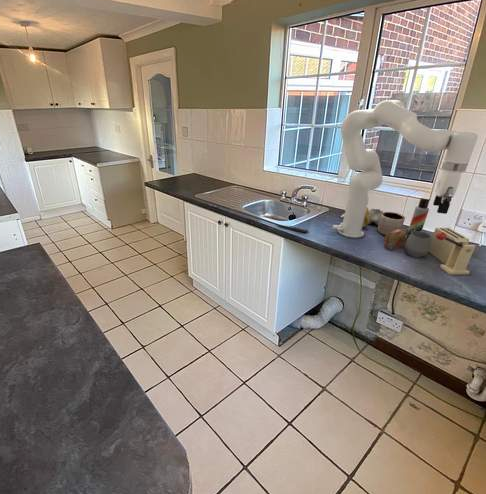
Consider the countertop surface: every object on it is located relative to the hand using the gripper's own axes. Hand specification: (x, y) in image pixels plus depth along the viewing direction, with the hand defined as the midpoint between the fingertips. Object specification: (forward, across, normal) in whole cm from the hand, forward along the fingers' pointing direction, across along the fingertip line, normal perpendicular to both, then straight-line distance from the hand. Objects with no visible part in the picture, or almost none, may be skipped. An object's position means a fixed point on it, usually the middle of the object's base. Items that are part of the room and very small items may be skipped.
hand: (439, 209), depth 124 cm
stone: (+17, -34, -27) cm, 47 cm away
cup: (+24, -5, -2) cm, 25 cm away
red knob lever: (+12, +7, +6) cm, 15 cm away
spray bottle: (+24, -28, 0) cm, 37 cm away
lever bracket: (+24, +4, +11) cm, 27 cm away
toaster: (+24, -8, +9) cm, 27 cm away
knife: (+23, -12, -59) cm, 64 cm away
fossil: (+26, -47, -23) cm, 58 cm away
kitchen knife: (+23, -46, -33) cm, 61 cm away
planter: (+24, -27, -12) cm, 38 cm away
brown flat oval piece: (+24, -10, -10) cm, 28 cm away
